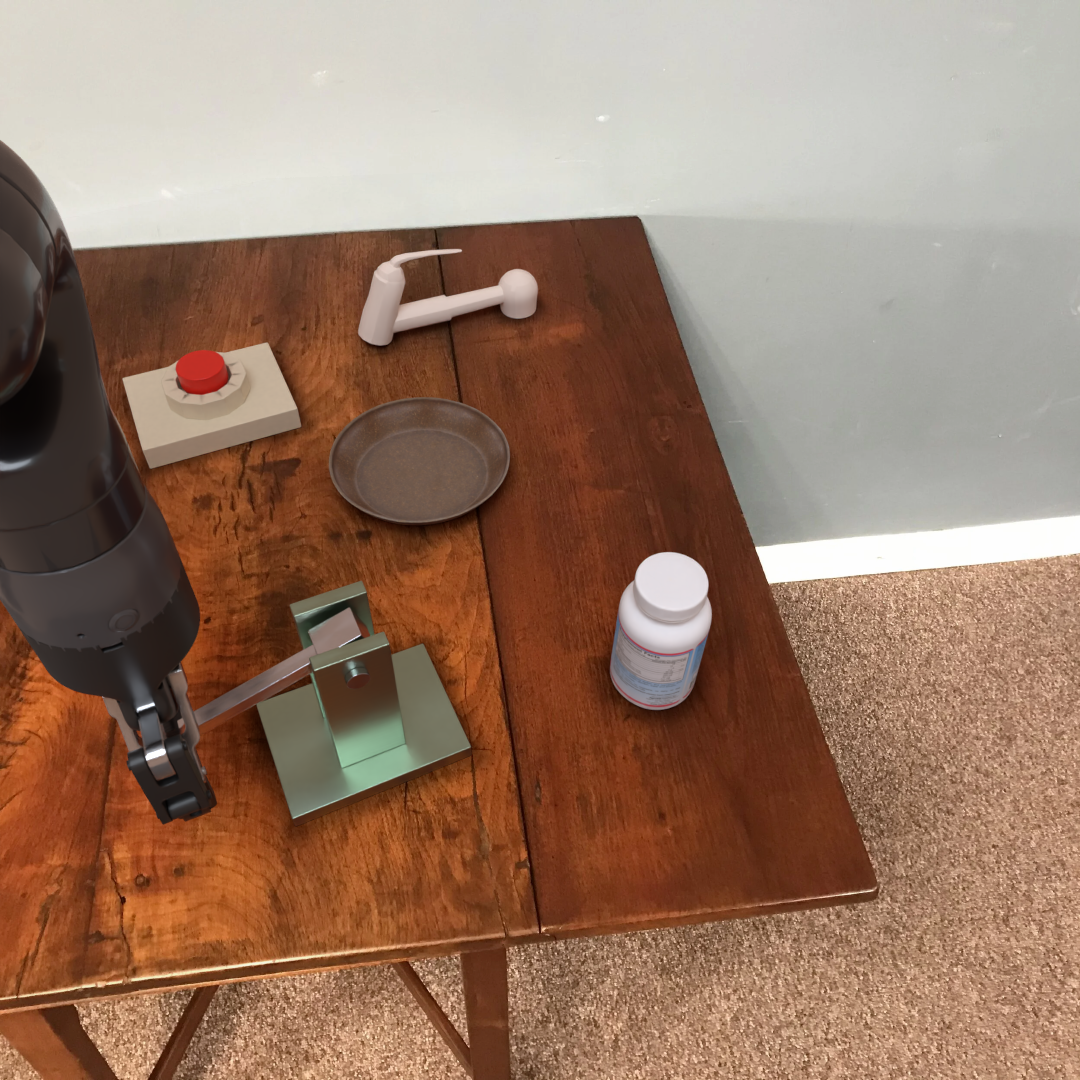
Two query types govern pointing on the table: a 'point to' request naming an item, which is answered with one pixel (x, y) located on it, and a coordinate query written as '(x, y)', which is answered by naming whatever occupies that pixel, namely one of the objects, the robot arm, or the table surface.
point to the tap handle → (277, 673)
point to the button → (202, 372)
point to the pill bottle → (661, 631)
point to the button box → (211, 408)
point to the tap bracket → (357, 716)
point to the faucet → (436, 300)
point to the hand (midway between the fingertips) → (182, 746)
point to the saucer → (419, 460)
